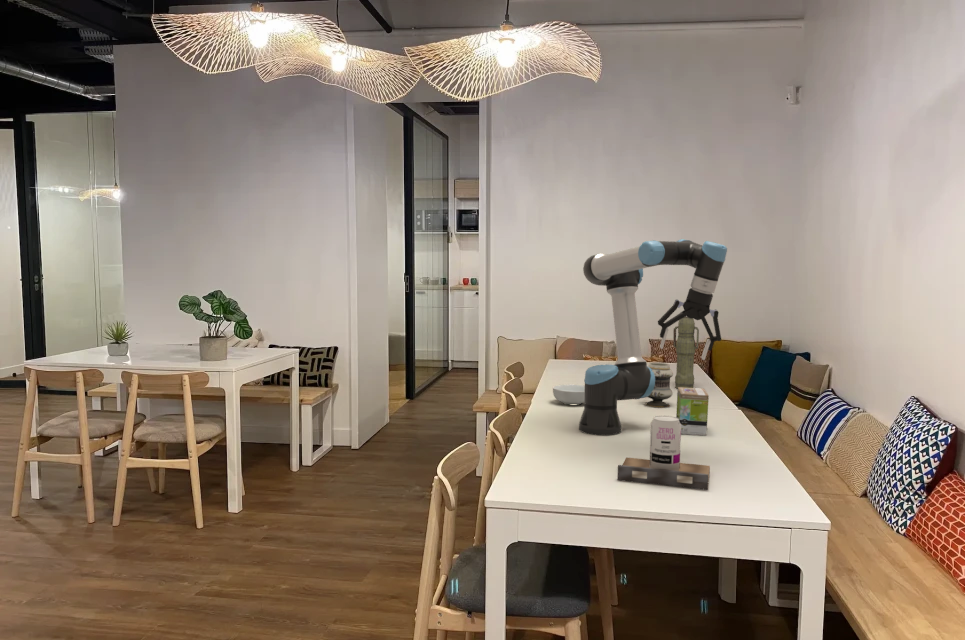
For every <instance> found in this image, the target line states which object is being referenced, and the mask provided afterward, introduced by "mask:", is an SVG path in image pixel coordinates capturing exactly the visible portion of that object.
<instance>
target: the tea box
mask: <svg viewBox="0 0 965 640" xmlns="http://www.w3.org/2000/svg"><path fill="white" fill-rule="evenodd" d="M676 392H677V393H676V395H677V397H676V398H677V399H676V416H675V417H676V418H678V419H679V421H680V423H681V435H693V436H707V433H708V432H707V431H708V418H709V417H708V415H709V414H708V413H709V398H710V397H709V396H710V395H709V394H708V392H707V391H706V390H705V388H698V387H693V388H684V387H678V389H677V391H676Z"/></svg>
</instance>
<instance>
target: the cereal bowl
mask: <svg viewBox="0 0 965 640" xmlns="http://www.w3.org/2000/svg"><path fill="white" fill-rule="evenodd" d="M552 394H553V396H554V398H555V400H556V401H558V402H561V403H562V404H563V403H565V404H564V405H566V404H581V403H582V404H583V403H584V398H585V384H578V383H577V384H573V383H572V384H571V383H567V384H566V383H565V384H558V385H553V386H552ZM582 404H581V405H582Z"/></svg>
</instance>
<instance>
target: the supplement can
mask: <svg viewBox="0 0 965 640" xmlns="http://www.w3.org/2000/svg"><path fill="white" fill-rule="evenodd" d="M649 434H650V435H649V436H650V438H649V440H650V441H649V460H650V466H649V467H650V468H654V469H664V470H673V471H679V470H680V463H681V444H682V443H681V439H682V438H681V437H682V436H681V435H682V434H681V423H680V421H679V419H678V418H676V416H671V415H655V416H653V418H652V420H651V422H650V433H649Z"/></svg>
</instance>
